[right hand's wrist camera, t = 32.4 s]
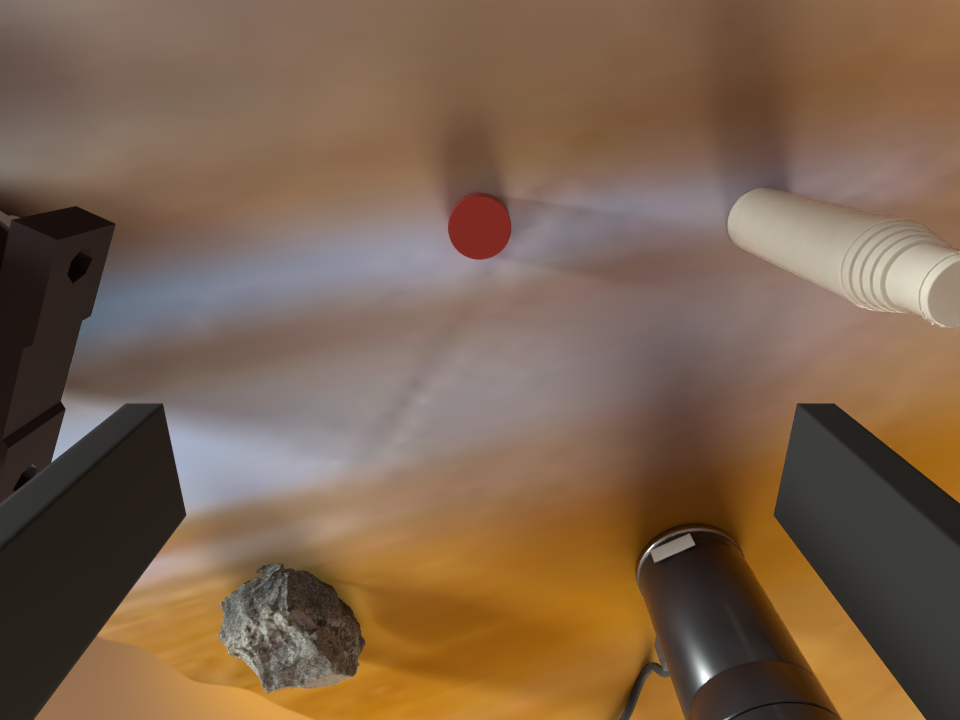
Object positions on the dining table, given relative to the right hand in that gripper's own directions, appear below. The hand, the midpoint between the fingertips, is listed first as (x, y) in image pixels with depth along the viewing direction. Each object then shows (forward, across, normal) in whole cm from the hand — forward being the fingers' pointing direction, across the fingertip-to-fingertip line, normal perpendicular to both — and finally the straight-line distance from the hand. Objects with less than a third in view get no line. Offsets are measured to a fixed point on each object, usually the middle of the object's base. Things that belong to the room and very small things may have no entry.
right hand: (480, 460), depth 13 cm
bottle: (+33, +20, 0) cm, 38 cm away
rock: (+33, -16, -34) cm, 50 cm away
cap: (+31, 0, 0) cm, 31 cm away
